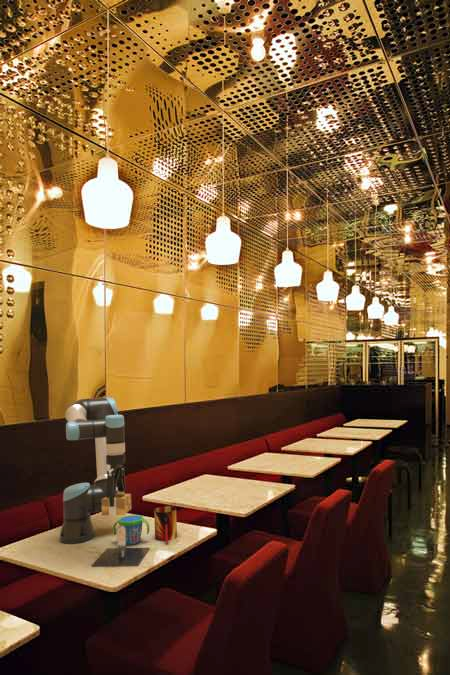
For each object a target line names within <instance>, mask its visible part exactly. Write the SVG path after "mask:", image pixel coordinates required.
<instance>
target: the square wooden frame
mask: <svg viewBox="0 0 450 675" xmlns="http://www.w3.org/2000/svg"><path fill="white" fill-rule="evenodd" d="M115 497H116V515H115V516H125V515H126V514H127V513H128V512H129V511H131V510H132V493H124V494H115ZM101 516H110V515H109V498H106V497H105V498H103V499H102V511H101Z"/></svg>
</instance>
